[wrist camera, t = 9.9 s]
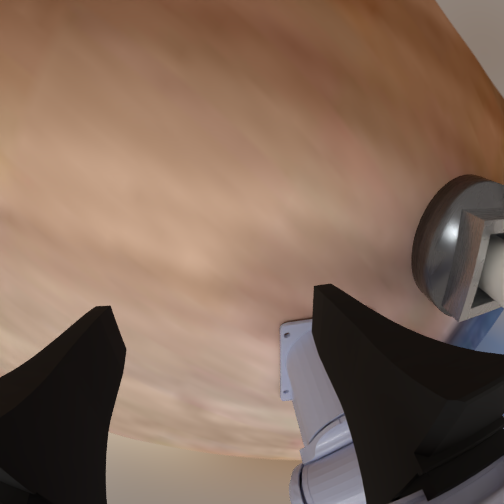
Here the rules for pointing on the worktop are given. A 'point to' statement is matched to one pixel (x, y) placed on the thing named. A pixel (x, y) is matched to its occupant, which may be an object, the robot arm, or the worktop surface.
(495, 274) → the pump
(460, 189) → the square tube on disc
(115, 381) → the robot arm
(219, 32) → the worktop surface
